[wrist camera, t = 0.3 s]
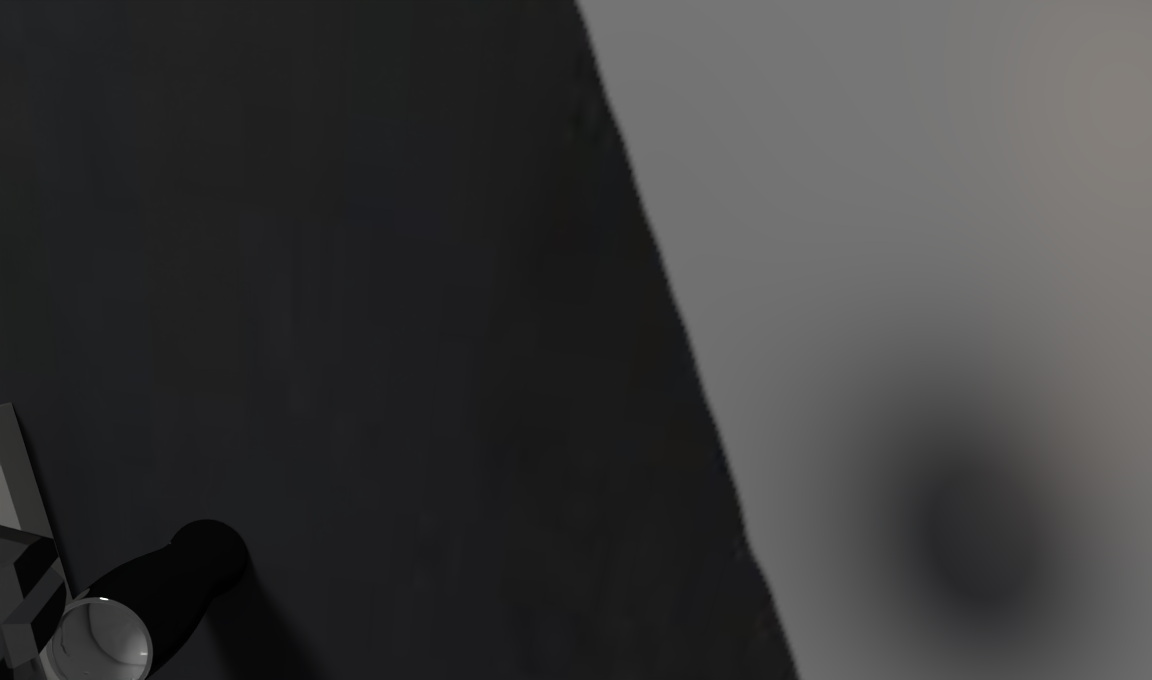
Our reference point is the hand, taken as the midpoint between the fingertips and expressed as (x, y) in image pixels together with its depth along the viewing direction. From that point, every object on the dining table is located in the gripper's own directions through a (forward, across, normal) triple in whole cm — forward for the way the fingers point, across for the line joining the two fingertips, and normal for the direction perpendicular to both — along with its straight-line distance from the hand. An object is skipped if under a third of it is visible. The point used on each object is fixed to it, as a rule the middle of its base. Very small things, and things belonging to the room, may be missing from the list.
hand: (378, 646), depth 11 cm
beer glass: (+35, -22, -48) cm, 64 cm away
